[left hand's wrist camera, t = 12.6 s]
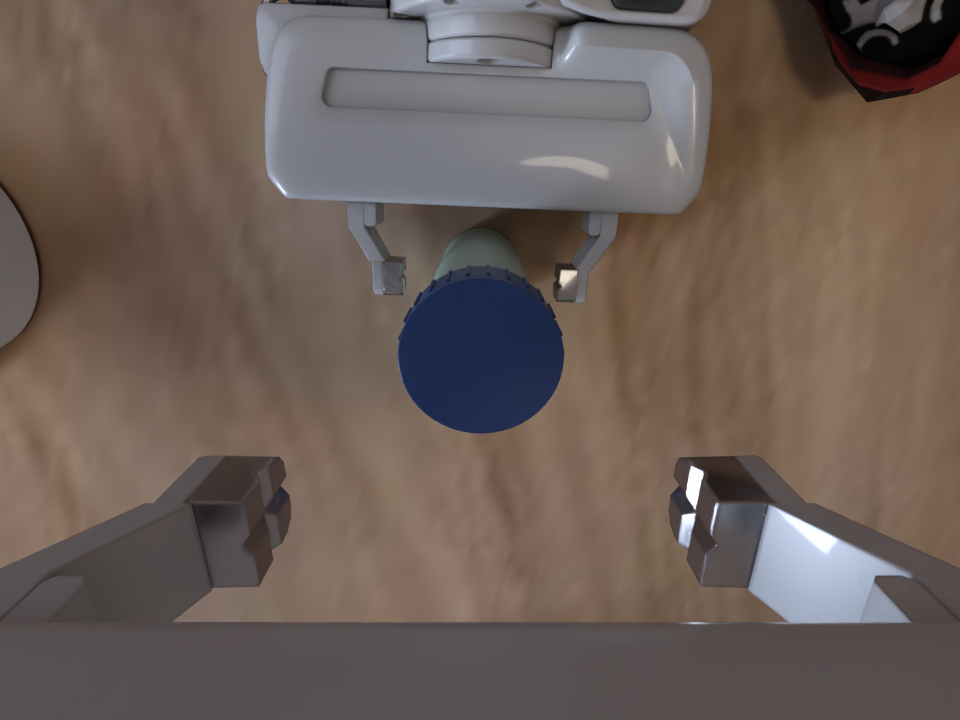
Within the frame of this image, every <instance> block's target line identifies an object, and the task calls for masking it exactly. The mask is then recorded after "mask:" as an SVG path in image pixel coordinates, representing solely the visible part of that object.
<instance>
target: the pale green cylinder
mask: <svg viewBox="0 0 960 720" xmlns="http://www.w3.org/2000/svg"><path fill="white" fill-rule="evenodd" d="M487 264H489V265H490V267H496V268H501V269H504V270H505V269H506V268H507V269H509V271H510V272H512V273H514V274H516V275H518V276H520V277H521V278H523V276H524V277H525V278H526V280H527V282H529V280H528V278H527V276H526V273H525V271H524V269H523V266H522V264H521V261H520V259H519V257H518V254H517V252H516V250H515V248H514V246H513V245H512V243H511V242H510V241H509V240H508V239H507V238H506V237H505V236H503V235H502V234H500V233H498V232H496V231H494V230H490V229H485V228H477V229H471V230H468V231H465V232H463V233H461V234H460V235H458V236H457V237H456V238H455V239H453V240H452V242H451V243H450V244H449V245H448V247H447V249H446V251H445V253H444V255H443V258H442V260H441V263H440V265H439V267H438V270H437V272H436V275H435V277H434V279H435V280H437V279H439V278H440V277H442V276H444V275H446V274H447V273H448V271H449V270H452V271H455V270H458V269H461V268H466V267H467V265H470V267H473V266H487Z"/></svg>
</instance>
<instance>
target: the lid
mask: <svg viewBox="0 0 960 720" xmlns="http://www.w3.org/2000/svg"><path fill="white" fill-rule="evenodd" d="M554 318H556V316H555V314H554V312H553V310H552V308H551V306H550V304H547V303H546V302H545V300H544V298H543V296H542V294H541V292H540V290H539V289H537V290H536V289H535V288H534V287H533V286H532V285H531V284H530V283H529V282H527V280H526V278H525V277H524V276H523V278H521V277H520V276H518V275H516V274H514V273H512V272H510V271H509V269H507V268H506V269H505V270H504V269H501V268H496V267H490V265H489V264H487V266H473V267H470V265H467V267H466V268H461V269H458V270H455V271H452V270H449V271H448V273H447V274H446V275H444V276H442V277H440V278H439V279H437V280H435V279H433V280H432V282H431V284H430V286H428V287H427V288H426V289H425V290H424V292H423V293H422V292H420V293H419V294H418V296H417V298H416V300H415V303H414V306H413V308H411V307H410V309H409V311H408V313H407V315H406V317H405V319H404V322H405V325H404V327H403V329H402V331H401V334H400V336H399V338H398V340H399V346H398V365H399V371H400V375H401V378H402V381H403V384H404V386H405V388H406V390H407V392H408V394H409V395H410V397H411V398H412V400H413V401H414V402H415V403H416V405H417V406H418V407H419V408H420V409H421V410H422V411H423V412H424V413H425V414H427V415H428V416H429V417H431V418H432V419H434V420H435V421H437V422H439V423H441V424H442V425H445V426H447V427H449V428H452V429H455V430H459V431H463V432H469V433H493V432H498V431H503V430H506V429H509V428H512V427H515V426H517V425H519V424H521V423H523V422H525V421H526V420H528V419H530V418H531V417H532V416H533V415H535V414H536V413H537V412H538V411H539V410H540V409H541V408H542V407H543V406H544V405H545V404H546V403H547V402H548V400H549V399H550V398H551V396H552V395H553V393H554V391H555V389H556V387H557V385H558V383H559V380H560V377H561V373H562V369H563V361H564V349H563V343H562V337H561V336H562V332H561V330H560V328H559V326H558V324H557V322H556V320H554Z"/></svg>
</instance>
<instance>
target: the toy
mask: <svg viewBox="0 0 960 720" xmlns="http://www.w3.org/2000/svg"><path fill="white" fill-rule="evenodd" d="M807 1H809V2H810V3H811V4H812V5H813V6H814V9H815V12H816V14H817V17H818V20H819V22H820V25H821V28H822V31H823V33H824V36H825V39H826V41H827V44H828V47H829V49H830V52H831V55H832V58H833V60H834V63H835V65H836V66H837V67H838V69H839V70H840V71H841V72H842V73H843V75H844V76H845V77H846V78H847V79H848V80H849V82H850V83H851V84H852V85H853V86H854V88H855V89H856V90H857V91H858V92H859V93H860V95H861V96H862V97H863V98H864V99H865V101H866V102H872V101H877V100H883V99H888V98H893V97H899V96H904V95H910V94H915V93H919V92H921V91H924V90H926V89H928V88H930V87H933V86H935V85H937V84H939V83H941V82H943V81H945V80H947V79H949V78H951V77H953V76H955V75H957V74H959V73H960V0H807Z"/></svg>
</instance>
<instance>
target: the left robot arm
mask: <svg viewBox="0 0 960 720" xmlns="http://www.w3.org/2000/svg"><path fill="white" fill-rule="evenodd" d="M285 477H286V472H285V467H284V462H283V460H282V459H281V458H280V457H266V456H227V455H222V456H202V457H199V458H198V459H197V460H196V461H195V462H194V463H193V464H192V465H191V466H190V467H189V468H188V469H187V470H186V471H185V472H184V473H183V474H182V475H181V476H180V477H179V478H178V479H177V480H176V481H175V482H174V483H173V484H172V485H171V486H170V487H169V488H168V489H167V490H166V491H165V492H164V493H163V494H162V495H161V496H160V497H159V498H158V499H157V500H156V501H155V502H154V503H145V504H143V505H141V506H138V507H136V508H134V509H132V510H129V511H127V512H125V513H123V514H121V515H118V516H116V517H114V518H112V519H109V520H107V521H105V522H103V523H101V524H98V525H96V526H94V527H92V528H89V529H87V530H85V531H83V532H81V533H78V534H76V535H74V536H72V537H69V538H67V539H65V540H63V541H60V542H58V543H56V544H54V545H52V546H49V547H47V548H45V549H43V550H40V551H38V552H36V553H34V554H32V555H29V556H27V557H25V558H23V559H20V560H18V561H16V562H14V563H12V564H9V565H7V566H5V567H3V568H0V720H960V569H959V568H957V567H955V566H953V565H950V564H948V563H946V562H944V561H941V560H939V559H937V558H935V557H933V556H930V555H928V554H926V553H924V552H921V551H919V550H917V549H915V548H913V547H910V546H908V545H906V544H904V543H902V542H899V541H897V540H895V539H893V538H890V537H888V536H886V535H884V534H882V533H879V532H877V531H875V530H873V529H870V528H868V527H866V526H864V525H862V524H859V523H857V522H855V521H853V520H850V519H848V518H846V517H844V516H842V515H839V514H837V513H835V512H833V511H831V510H828V509H826V508H824V507H822V506H819V505H817V504H815V503H806V502H805V501H804V500H803V499H802V498H801V497H800V496H799V495H798V494H797V493H796V492H795V491H794V490H793V489H792V488H791V487H790V486H789V485H788V484H787V483H786V482H785V481H784V480H783V479H782V478H781V477H780V476H779V475H778V474H777V473H776V472H775V471H774V470H773V469H772V468H771V467H770V466H769V465H768V464H767V463H766V462H765V461H764V460H763V459H762V458H761V457H758V456H756V455H748V456H718V457H682V458H679V459H678V461H677V463H676V465H675V471H674V477H675V479H676V481H677V482H678V484H679V487H678V488H677V489H676V490H675V491H674V492H673V493H672V494H671V496H670V504H669V516H670V525H671V528H672V531H673V534H674V536H675V538H676V540H677V542H678V543H679V544H680V545H682V546H683V547H685V548H686V549H688V555H687V561H688V563H689V565H690V567H691V569H692V571H693V572H694V574H695V576H696V578H697V580H698V582H699V584H700V585H701V586H702V587H739V588H748V590H749V591H750V592H751V593H753V594H754V595H755V596H756V597H758V598H759V599H760V600H761V601H763V602H764V603H765V604H766V605H768V606H769V607H770V608H771V609H773V610H774V611H775V612H776V613H778V614H779V615H780V616H781V617H783V618H784V619H785V620H787V621H788V622H172V621H174V620H175V619H176V618H177V617H179V616H180V615H181V614H182V613H184V612H185V611H186V610H188V609H189V608H190V607H191V606H193V605H194V604H195V603H196V602H198V601H199V600H200V599H201V598H203V597H204V596H205V595H206V594H208V593H209V592H210V591H211V590H212V588H221V587H256V586H260V584H261V582H262V580H263V578H264V576H265V574H266V572H267V571H268V569H269V567H270V565H271V563H272V561H273V555H272V549H274V548H275V547H277V546H278V545H280V544H281V543H282V542H283V540H284V538H285V536H286V534H287V532H288V528H289V523H290V519H291V503H290V496H289V494H288V493H287V492H286V491H285V490H284V489H283V488H282V487H281V484H282V482H283V481H284V479H285Z"/></svg>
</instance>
